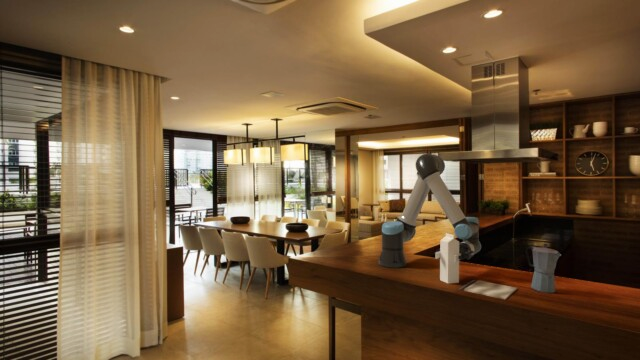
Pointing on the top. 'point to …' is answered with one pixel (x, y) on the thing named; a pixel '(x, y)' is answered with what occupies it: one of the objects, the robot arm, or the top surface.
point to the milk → (449, 259)
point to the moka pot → (543, 268)
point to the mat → (489, 289)
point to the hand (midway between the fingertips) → (445, 257)
